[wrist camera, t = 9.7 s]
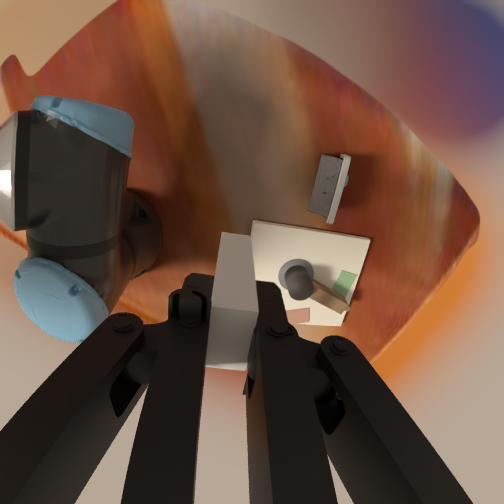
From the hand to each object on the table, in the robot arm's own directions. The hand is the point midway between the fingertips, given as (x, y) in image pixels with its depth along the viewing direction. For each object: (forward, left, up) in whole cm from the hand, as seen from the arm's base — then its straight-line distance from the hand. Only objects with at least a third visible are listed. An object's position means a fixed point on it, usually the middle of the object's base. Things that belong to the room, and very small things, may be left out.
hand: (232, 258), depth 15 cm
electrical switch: (+13, +1, -30) cm, 32 cm away
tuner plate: (+13, -16, -29) cm, 36 cm away
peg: (+16, -17, -28) cm, 36 cm away
